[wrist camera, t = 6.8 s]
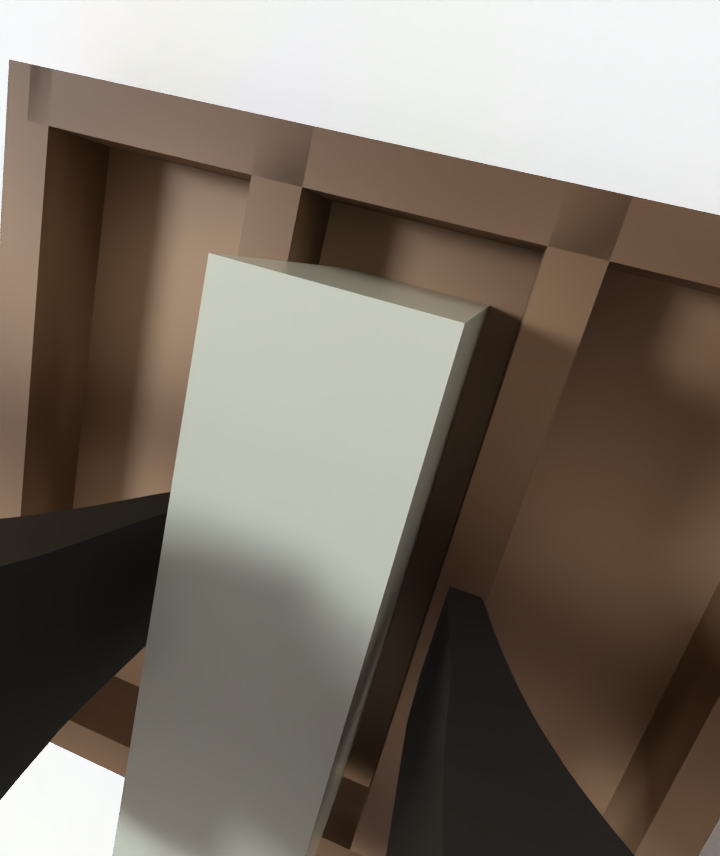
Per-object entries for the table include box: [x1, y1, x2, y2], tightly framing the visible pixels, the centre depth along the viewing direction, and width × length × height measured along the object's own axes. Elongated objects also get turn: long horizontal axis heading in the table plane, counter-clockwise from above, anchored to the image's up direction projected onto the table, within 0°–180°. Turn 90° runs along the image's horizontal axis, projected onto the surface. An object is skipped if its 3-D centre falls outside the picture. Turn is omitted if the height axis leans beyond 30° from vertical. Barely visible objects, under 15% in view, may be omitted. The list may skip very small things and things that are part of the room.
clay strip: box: [113, 253, 490, 856], centre depth 11 cm, size 12×3×6 cm, turn 166°
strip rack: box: [0, 60, 720, 856], centre depth 13 cm, size 16×17×2 cm
